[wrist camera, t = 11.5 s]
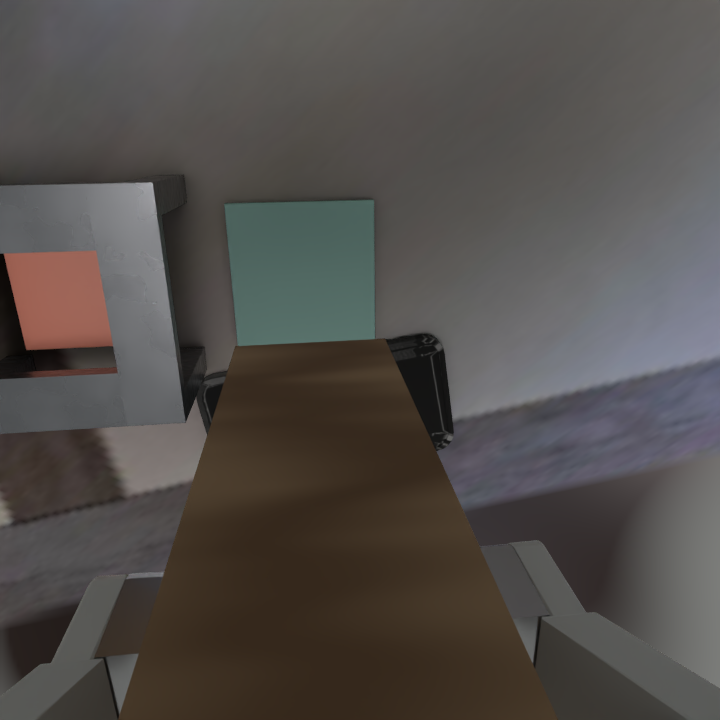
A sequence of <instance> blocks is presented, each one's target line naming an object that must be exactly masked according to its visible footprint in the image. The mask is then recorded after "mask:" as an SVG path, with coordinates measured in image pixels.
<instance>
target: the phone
mask: <svg viewBox="0 0 720 720" xmlns="http://www.w3.org/2000/svg"><path fill="white" fill-rule="evenodd" d="M386 342H387V344H388V346H389V349H390V351H391V353H392V355H393V357H394V360H395V362H396V364H397V366H398V368H399V371H400V373H401V375H402V377H403V379H404V382H405V384H406V386H407V388H408V390H409V393H410V395H411V397H412V399H413V401H414V404H415V406H416V408H417V410H418V412H419V415H420V417H421V419H422V421H423V423H424V426H425V428H426V430H427V432H428V434H429V437H430V439H431V441H432V443H433V445H434V448H435V450H436V451H438V450H441V449H443V448H445V447H446V446H448V445H449V443H450V442H451V441H452V438H453V433H454V430H453V422H452V413H451V405H450V396H449V388H448V379H447V371H446V362H445V354H444V350H443V347H442V345H441V344H440V343H439V341H438V340H437V339H436V338H435V337H433V336H432V335H428V334H419V335H414V336H409V337H402V338H398V339H393V340H386ZM227 372H228V371H227ZM227 372H222V373H216V374H212V375H209V376H207V377H206V378H204V379H203V380H202V383H201V385H200V388H199V390H198V393H197V395H196V397H197V403H198V406H199V409H200V413H201V416H202V419H203V423H204V426H205V429H206V433H207V435H208V432H209V429H210V426H211V422H212V419H213V416H214V413H215V410H216V406H217V403H218V400H219V397H220V394H221V391H222V387H223V384H224V381H225V378H226V375H227Z"/></svg>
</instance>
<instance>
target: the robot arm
mask: <svg viewBox="0 0 720 720" xmlns="http://www.w3.org/2000/svg"><path fill="white" fill-rule="evenodd" d="M480 549H481V551H482V553H483V555H484V558H485V560H486V562H487V564H488V566H489V569H490V571H491V573H492V575H493V577H494V580H495V582H496V584H497V586H498V588H499V591H500V593H501V595H502V597H503V599H504V602H505V604H506V606H507V608H508V610H509V613H510V615H511V617H512V619H513V621H514V624H515V626H516V628H517V630H518V632H519V635H520V637H521V639H522V641H523V643H524V646H525V648H526V650H527V652H528V654H529V657H530V659H531V661H532V663H533V665H534V668H535V670H536V672H537V674H538V676H539V679H540V681H541V683H542V685H543V687H544V690H545V692H546V694H547V696H548V698H549V701H550V703H551V705H552V707H553V709H554V712H555V714H556V716H557V718H558V720H720V688H718V687H717V686H715V685H713V684H712V683H710V682H709V681H707V680H705V679H704V678H702V677H700V676H698V675H697V674H695V673H694V672H692V671H691V670H689V669H687V668H686V667H684V666H682V665H681V664H679V663H677V662H676V661H674V660H672V659H671V658H669V657H668V656H666V655H664V654H663V653H661V652H659V651H658V650H656V649H654V648H653V647H651V646H650V645H648V644H646V643H645V642H643V641H642V640H640V639H638V638H637V637H635V636H633V635H632V634H630V633H628V632H627V631H625V630H624V629H622V628H620V627H619V626H617V625H615V624H614V623H612V622H611V621H609V620H607V619H606V618H604V617H602V616H601V615H599V614H597V613H595V612H593V613H586V612H585V610H584V608H583V607H582V606H581V604H580V602H579V600H578V599H577V597H576V596H575V594H574V593H573V591H572V589H571V588H570V586H569V585H568V583H567V581H566V580H565V578H564V577H563V575H562V573H561V572H560V570H559V569H558V567H557V565H556V564H555V562H554V561H553V559H552V558H551V556H550V555H549V553H548V551H547V550H546V548H545V546H544V545H543V543H541V542H539V541H538V540H535V541H526V542H516V543H509V544H508V545H507V544H505V545H492V546H482V547H480ZM163 575H164V572H151V573H134V574H130V575H127V574H125V575H109V576H97V577H96V578H95V579H93V580H92V581H91V582H90V583H89V586H88V588H87V590H86V592H85V594H84V596H83V598H82V600H81V602H80V604H79V606H78V608H77V611H76V613H75V615H74V617H73V619H72V621H71V623H70V625H69V627H68V629H67V632H66V633H65V636H64V637H63V640H62V642H61V644H60V646H59V648H58V650H57V652H56V654H55V656H54V659H53V660H52V662H51V663H49V664H41V665H39V666H38V667H37V668H35V669H34V670H33V671H32V672H30V673H29V674H28V675H27V676H25V677H24V678H23V679H22V680H20V681H19V682H18V683H17V684H15V685H14V686H13V687H12V688H10V689H9V690H8V691H7V692H5V693H4V694H3V695H2V696H0V720H118V718H119V715H120V712H121V708H122V705H123V702H124V699H125V696H126V693H127V689H128V686H129V683H130V680H131V677H132V674H133V670H134V667H135V664H136V661H137V658H138V654H139V651H140V648H141V645H142V642H143V639H144V635H145V632H146V629H147V626H148V623H149V619H150V616H151V613H152V610H153V607H154V604H155V600H156V597H157V594H158V591H159V588H160V585H161V581H162V578H163Z"/></svg>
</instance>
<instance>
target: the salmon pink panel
mask: <svg viewBox="0 0 720 720" xmlns="http://www.w3.org/2000/svg"><path fill="white" fill-rule="evenodd" d="M4 257H5V261H6V266H7V270H8V274H9V278H10V283H11V287H12V291H13V295H14V300H15V304H16V308H17V312H18V317H19V321H20V325H21V329H22V334H23V338H24V342H25V346H26V350H40V349H61V348H82V347H103V346H113V343H112V337H111V331H110V326H109V320H108V315H107V309H106V303H105V298H104V292H103V286H102V281H101V275H100V270H99V264H98V258H97V253H96V251H68V252H37V253H6V254H4Z"/></svg>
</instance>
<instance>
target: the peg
mask: <svg viewBox="0 0 720 720" xmlns="http://www.w3.org/2000/svg"><path fill="white" fill-rule="evenodd" d="M118 720H558V718H557V716H556V714H555V712H554V709H553V707H552V705H551V703H550V701H549V698H548V696H547V694H546V692H545V690H544V687H543V685H542V683H541V681H540V679H539V676H538V674H537V672H536V670H535V668H534V665H533V663H532V661H531V659H530V657H529V654H528V652H527V650H526V648H525V646H524V643H523V641H522V639H521V637H520V635H519V632H518V630H517V628H516V626H515V624H514V621H513V619H512V617H511V615H510V613H509V610H508V608H507V606H506V604H505V602H504V599H503V597H502V595H501V593H500V591H499V588H498V586H497V584H496V582H495V580H494V577H493V575H492V573H491V571H490V569H489V566H488V564H487V562H486V560H485V558H484V555H483V553H482V551H481V549H480V547H479V545H478V542H477V540H476V538H475V536H474V534H473V531H472V529H471V527H470V525H469V522H468V520H467V518H466V516H465V514H464V511H463V509H462V507H461V505H460V503H459V500H458V498H457V496H456V494H455V492H454V489H453V487H452V485H451V483H450V481H449V478H448V476H447V474H446V472H445V470H444V467H443V465H442V463H441V461H440V459H439V456H438V454H437V452H436V450H435V448H434V445H433V443H432V441H431V439H430V437H429V434H428V432H427V430H426V428H425V426H424V423H423V421H422V419H421V417H420V415H419V412H418V410H417V408H416V406H415V404H414V401H413V399H412V397H411V395H410V393H409V390H408V388H407V386H406V384H405V382H404V379H403V377H402V375H401V373H400V371H399V368H398V366H397V364H396V362H395V360H394V357H393V355H392V353H391V351H390V349H389V346H388V344H387V342H386V340H385V339H367V340H347V341H328V342H308V343H288V344H269V345H249V346H235V349H234V352H233V356H232V359H231V362H230V365H229V368H228V372H227V375H226V378H225V381H224V384H223V387H222V391H221V394H220V397H219V400H218V403H217V406H216V410H215V413H214V416H213V419H212V422H211V426H210V429H209V432H208V435H207V438H206V441H205V445H204V448H203V451H202V454H201V457H200V461H199V464H198V467H197V470H196V473H195V476H194V480H193V483H192V486H191V489H190V492H189V495H188V499H187V502H186V505H185V508H184V511H183V515H182V518H181V521H180V524H179V527H178V530H177V534H176V537H175V540H174V543H173V546H172V550H171V553H170V556H169V559H168V562H167V565H166V569H165V572H164V575H163V578H162V581H161V585H160V588H159V591H158V594H157V597H156V600H155V604H154V607H153V610H152V613H151V616H150V619H149V623H148V626H147V629H146V632H145V635H144V639H143V642H142V645H141V648H140V651H139V654H138V658H137V661H136V664H135V667H134V670H133V674H132V677H131V680H130V683H129V686H128V689H127V693H126V696H125V699H124V702H123V705H122V708H121V712H120V715H119V718H118Z"/></svg>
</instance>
